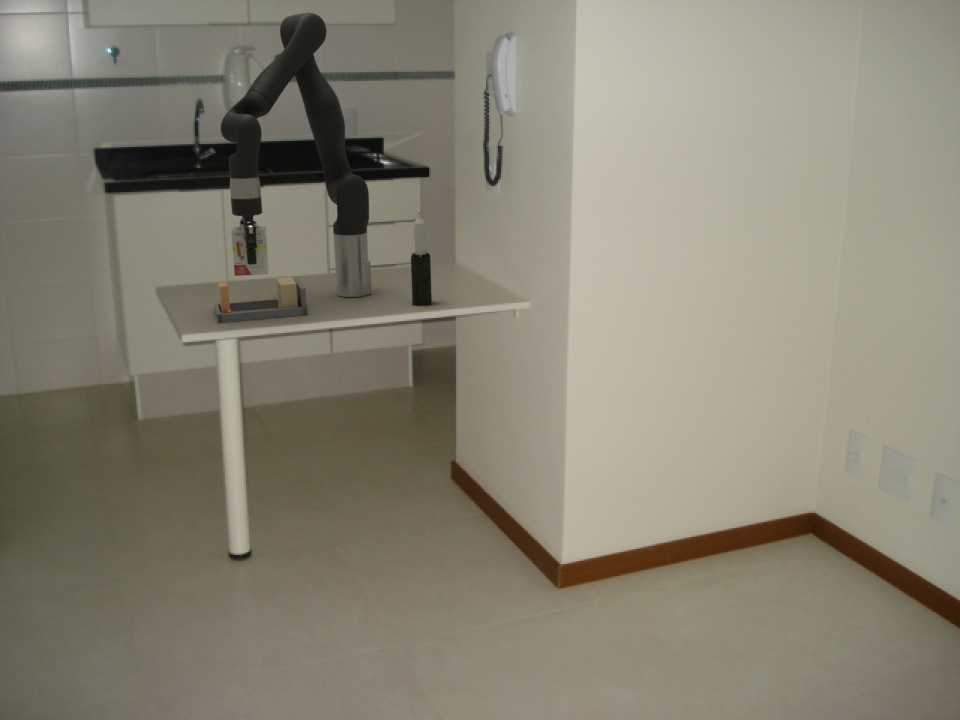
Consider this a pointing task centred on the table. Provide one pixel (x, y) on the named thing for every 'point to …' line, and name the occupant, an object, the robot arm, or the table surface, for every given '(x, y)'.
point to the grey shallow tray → (263, 304)
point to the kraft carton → (286, 293)
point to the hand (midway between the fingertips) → (250, 261)
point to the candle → (420, 266)
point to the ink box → (241, 253)
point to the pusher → (224, 298)
